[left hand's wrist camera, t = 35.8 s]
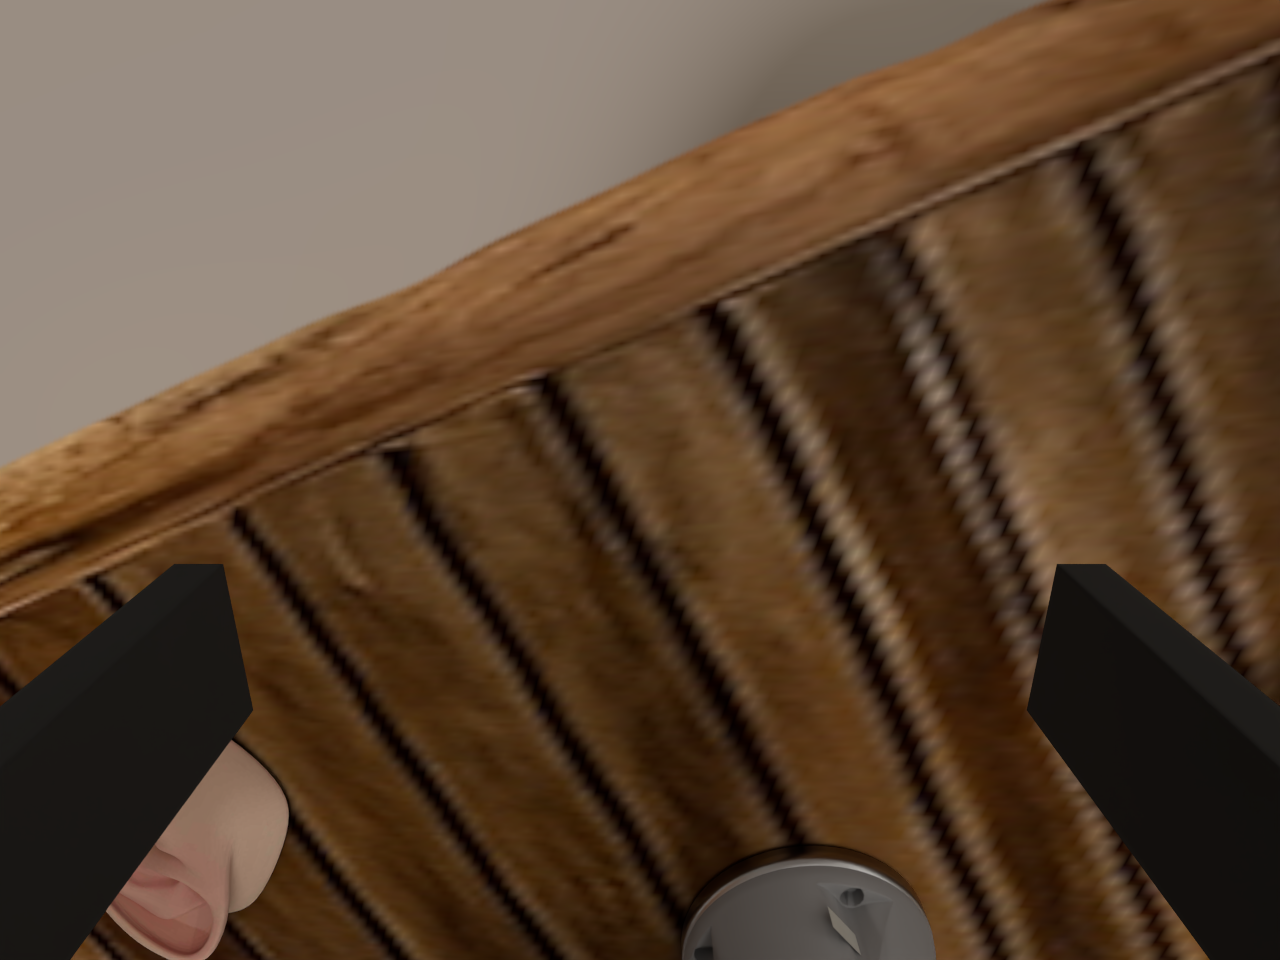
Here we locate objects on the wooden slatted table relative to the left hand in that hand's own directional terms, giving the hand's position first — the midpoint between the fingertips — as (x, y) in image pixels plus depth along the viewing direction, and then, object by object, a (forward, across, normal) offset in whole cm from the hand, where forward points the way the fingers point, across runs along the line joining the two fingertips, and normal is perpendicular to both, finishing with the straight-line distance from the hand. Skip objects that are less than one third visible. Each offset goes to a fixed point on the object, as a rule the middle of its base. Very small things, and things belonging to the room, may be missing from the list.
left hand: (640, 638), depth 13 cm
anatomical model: (+25, -26, -28) cm, 46 cm away
